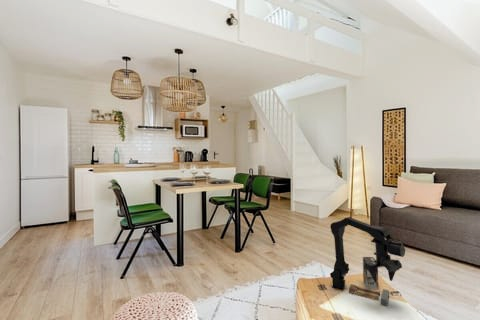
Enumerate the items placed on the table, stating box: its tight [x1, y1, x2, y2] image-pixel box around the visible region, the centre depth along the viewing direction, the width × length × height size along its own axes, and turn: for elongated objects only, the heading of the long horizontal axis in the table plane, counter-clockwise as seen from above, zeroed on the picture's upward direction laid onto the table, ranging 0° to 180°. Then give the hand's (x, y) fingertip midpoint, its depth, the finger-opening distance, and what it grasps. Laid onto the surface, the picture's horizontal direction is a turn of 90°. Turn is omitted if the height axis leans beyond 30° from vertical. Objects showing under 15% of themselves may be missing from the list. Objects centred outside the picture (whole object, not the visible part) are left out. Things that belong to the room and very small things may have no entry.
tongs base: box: [348, 283, 381, 298], centre depth 146 cm, size 15×7×2 cm, turn 55°
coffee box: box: [362, 256, 379, 291], centre depth 156 cm, size 9×6×16 cm
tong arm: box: [348, 285, 380, 301], centre depth 144 cm, size 15×2×4 cm, turn 56°
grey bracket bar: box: [380, 288, 390, 307], centre depth 139 cm, size 3×12×3 cm, turn 145°
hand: (383, 281), depth 134 cm, fingers open, 9 cm apart
